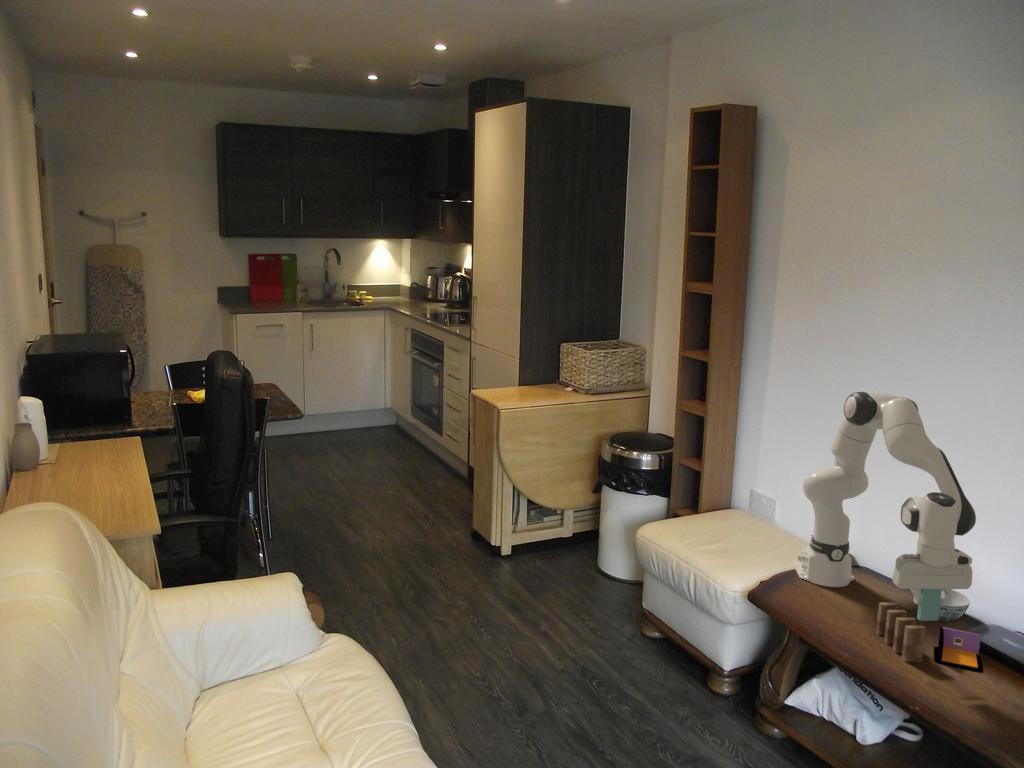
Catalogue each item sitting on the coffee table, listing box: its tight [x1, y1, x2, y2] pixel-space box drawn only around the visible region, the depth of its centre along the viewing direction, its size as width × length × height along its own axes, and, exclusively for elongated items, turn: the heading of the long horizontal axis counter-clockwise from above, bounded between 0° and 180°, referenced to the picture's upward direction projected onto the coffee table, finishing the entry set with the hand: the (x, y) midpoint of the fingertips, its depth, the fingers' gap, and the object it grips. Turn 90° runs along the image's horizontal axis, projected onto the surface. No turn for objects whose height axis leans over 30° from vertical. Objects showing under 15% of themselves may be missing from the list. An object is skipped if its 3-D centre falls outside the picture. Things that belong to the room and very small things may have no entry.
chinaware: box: [917, 589, 971, 622], centre depth 258 cm, size 15×15×8 cm
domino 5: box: [916, 589, 942, 622], centre depth 224 cm, size 5×2×10 cm, turn 93°
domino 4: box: [901, 625, 927, 663], centre depth 231 cm, size 5×2×10 cm, turn 93°
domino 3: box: [892, 617, 917, 654], centre depth 236 cm, size 5×2×10 cm, turn 93°
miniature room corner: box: [933, 626, 984, 674], centre depth 233 cm, size 12×12×7 cm
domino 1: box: [875, 602, 899, 636], centre depth 246 cm, size 5×2×10 cm, turn 93°
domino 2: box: [883, 609, 908, 645], centre depth 241 cm, size 5×2×10 cm, turn 93°
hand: (929, 603), depth 224 cm, fingers closed on domino 5, 5 cm apart
